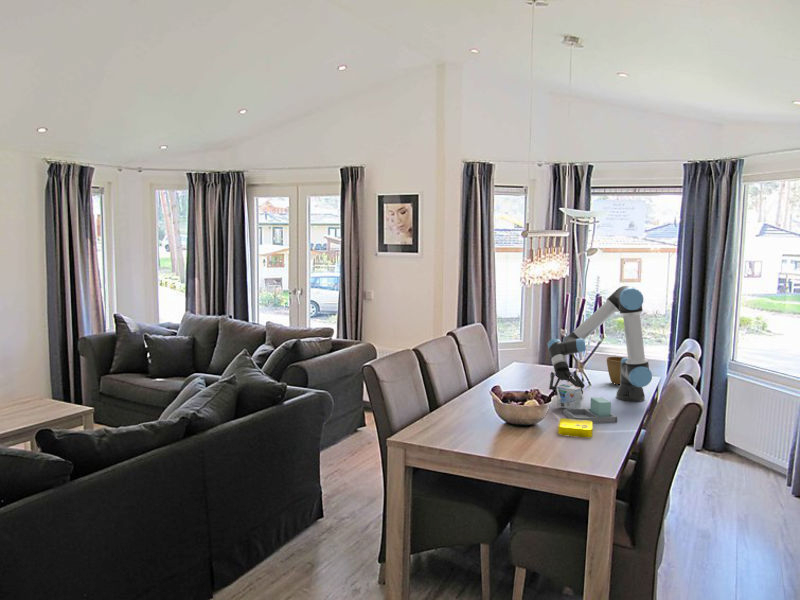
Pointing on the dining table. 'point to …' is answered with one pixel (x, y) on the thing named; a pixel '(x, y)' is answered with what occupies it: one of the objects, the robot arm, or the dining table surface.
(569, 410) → the tray
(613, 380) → the plant pot
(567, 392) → the light bulb box
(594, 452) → the dining table surface
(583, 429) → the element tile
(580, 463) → the dining table surface
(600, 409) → the teal block
